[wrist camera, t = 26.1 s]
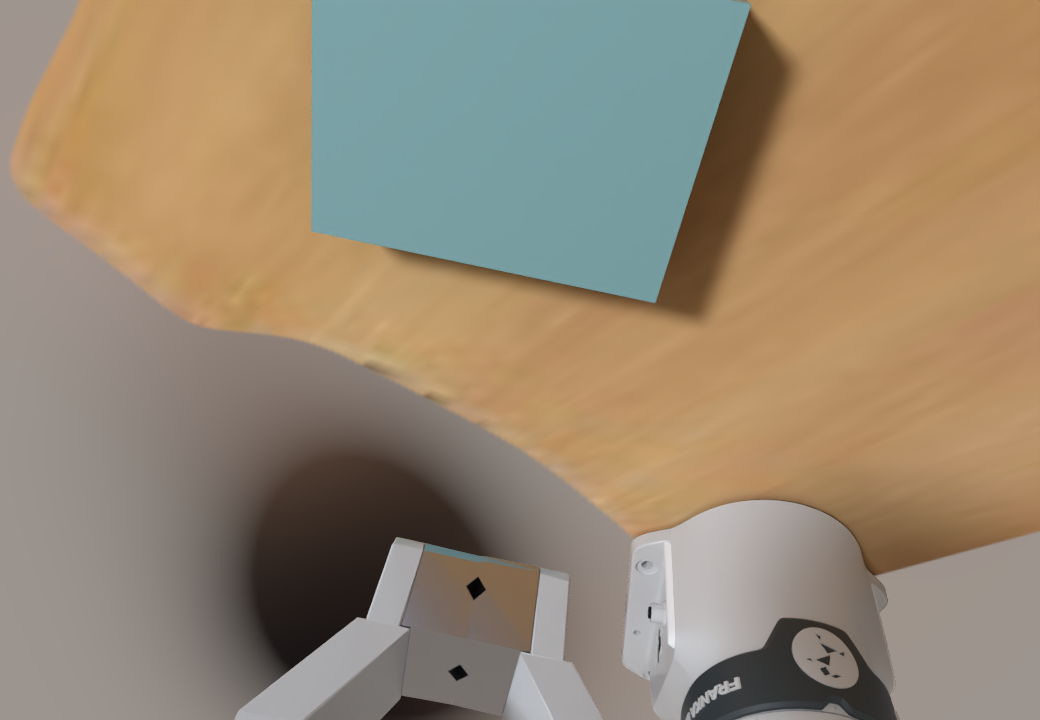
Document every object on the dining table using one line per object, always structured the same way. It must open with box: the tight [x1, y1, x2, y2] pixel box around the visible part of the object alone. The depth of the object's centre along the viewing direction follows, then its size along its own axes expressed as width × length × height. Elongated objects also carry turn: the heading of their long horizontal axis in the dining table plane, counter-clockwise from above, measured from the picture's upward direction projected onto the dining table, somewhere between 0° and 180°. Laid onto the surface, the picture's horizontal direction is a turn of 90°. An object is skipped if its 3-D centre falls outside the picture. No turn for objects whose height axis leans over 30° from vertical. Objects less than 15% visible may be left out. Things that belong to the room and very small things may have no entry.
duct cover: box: [311, 0, 751, 303], centre depth 33 cm, size 14×18×1 cm
